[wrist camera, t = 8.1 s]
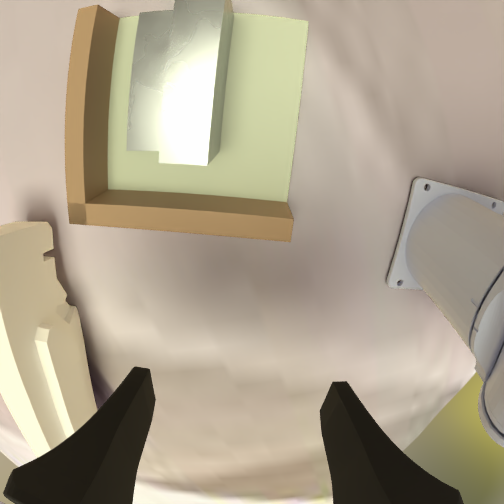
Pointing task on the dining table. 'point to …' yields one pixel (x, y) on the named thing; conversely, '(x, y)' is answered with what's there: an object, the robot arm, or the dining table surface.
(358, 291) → the dining table surface
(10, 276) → the shelf bracket
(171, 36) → the angle bracket
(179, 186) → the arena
